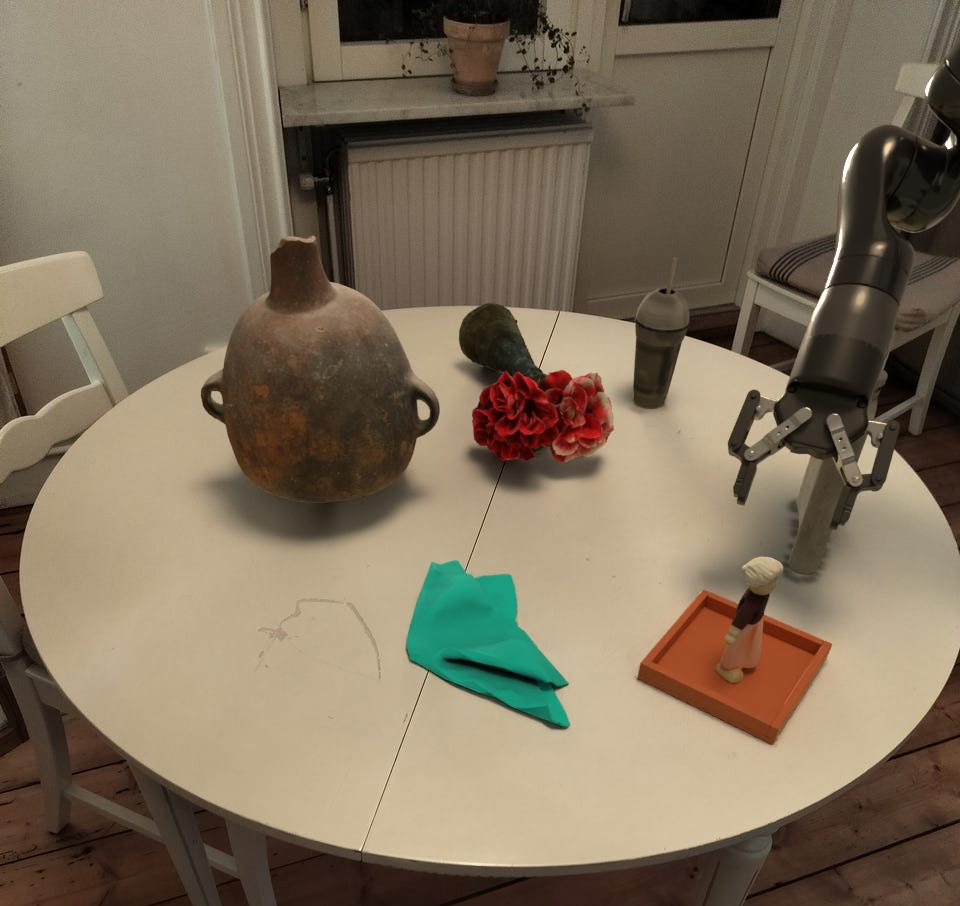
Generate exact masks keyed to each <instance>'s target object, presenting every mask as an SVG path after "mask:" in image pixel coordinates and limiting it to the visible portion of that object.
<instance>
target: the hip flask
mask: <svg viewBox="0 0 960 906" xmlns="http://www.w3.org/2000/svg"><path fill="white" fill-rule="evenodd" d="M888 377H889V375H888V373H887V371H886V370H884V369H883V368H882V369H881V372H880V375H879V378H878V381H877V384H876V387H875V390H874V393H873V396H872V398H871V401H870V404H869V407H868V410H867V416H868V420H869V421H874V420H875V416H876V413H877V408H878V400H879V399H878V398H879V397H878V396H879V395H880V392H881V390H882V387H883V386H885V385H886V382H887V380H888ZM868 436H869V435H868V434H866V433H865V434H864V435H863V436H862V437H860V438H859V439H857V440H856V441H855V442H853V443H852V444H851V446H852V449H853V451H854V454H855V457H856V462H857V464H858V463H859V459H860V458H861V454H862V452H863V449H864V446H865V445H866V442H867V441H866V440H867V438H868ZM809 456H810V455H809ZM843 486H845V485H844V482H843V480H842V477H841V475H840V473H839V472H838V470H837V467H836V465H835V462H834V460H833V457H831V458H825V459H824V460H821V459H817V458H814V457H812V456H810V457H809V460H808V462H807V465H806V469H805V472H804V475H803V477H802V481H801V485H800V488H799V490H798V494H797V497H796V500H795V503H796V507H797V512H798V530H797V534H796V537H795V540H794V543H793V545H792V549H791V551H790V554H789V558H788V560H787V564H788V567H789V568H790V569H791V570H793V571H794V572H796V573H798V574H801V575H802V574H803V575H811V574H814V573H816V572H818V569H819V567H820V566H821V563H822V560H823V558H824V556H825V553H826V550H827V547H828V544H829V542H830V539H831V536H832V533H833V531H834V530H833V529H829V525H830V522H831V519H832V517H833V514H834V511H835V508H836V505H837V502H838V499H839V496H840V493H841V491H842V488H843Z"/></svg>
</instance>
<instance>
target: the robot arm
mask: <svg viewBox="0 0 960 906" xmlns="http://www.w3.org/2000/svg"><path fill="white" fill-rule="evenodd" d="M924 100H925V103H926V105H927V107H928V108H929V110H930V111H931V112H932V114H933V115H934V116H935V118H937V119H938V120H939V121H940V122H941V123H942V124H943V125H944V126H945V127H946V128H947V129H949V131H950V133H949V136H948V138H946V140H945V142H944V143H942V145H938V144H936V142H935V143H934V142H933V141H930V140H929V139H926V138H924V137H922V136H920V135H918V134H915V133H914V132H912V131H910V130H908V129H906V128H903V127H901V126H899V125H895V124H889V123H888V124H881V125H878V126H875V127H874V128H872V129H870V130H868V131H867V132H866V133H865V134H863V135H862V136H861V137H860V138H859V140H857V142H856V143H855V144H854V146H853V147H852V148H851V150H850V152H849V153H848V156H847V158H846V160H845V163H844V165H843V168H842V171H841V175H840V179H839V183H838V184H839V185H838V194H837V212H836V215H837V218H836V230H835V231H836V232H835V244H834V252H833V253H834V255H833V258H832V261H831V263H830V267H829V270H828V273H827V275H826V279H825V282H824V284H823V287H822V290H821V292H820V293H821V294H820V296H819V299H818V301H817V303H816V305H815V307H814V309H813V310H812V313H811V315H810V317H809V320H808V322H807V326H806V328H805V331H804V334H803V336H802V340H801V343H800V346H799V349H798V352H797V355H796V358H795V361H794V363H793V366H792V369H791V371H790V376H789V378H788V381H787V383H786V386H785V389H784V391H783V394H782V395H781V396H780V397H779V398H778V399H774V398H771V397H767V396H764V395H761V392H760V390H758V389H751V390H749V391H748V392H747V393H746V397H745V399H744V402H743V404H742V406H741V409H740V411H739V414H738V417H737V418H736V421H735V423H734V425H733V428H732V430H731V433H730V436H729V437H728V440H727V452H728V455H729V456H731V457H734V458H736V459H738V461H739V462H740V463H741V464H740V466H739V470H738V472H737V475H736V479H735V482H734V485H733V487H732V489H733V490H732V491H733V497H734V498H736V504H737V505H738V506H743V507H744V506H745V505H746V502H747V500H748V496H749V494H750V492H751V488H752V485H753V483H754V480H755V476H756V473H757V471H758V465H759V464H761V463H762V462H763V461H765V460H766V459H767V458H769V457H772V456H773V455H775V454H776V453H778V452H780V451H781V450H782V449H784V448H786V449H787V450H789V451H790V453H792V454H795V455H808V456H812V457H814V458H817V459H821V460H824V459H825V458H831V457H833V460H834V462H835V465H836V467H837V470H838V472H839V473H840V475H841V477H842V480H843V482H844V485H845V486H843V488H842V491H841V493H840V496H839V499H838V502H837V505H836V508H835V511H834V514H833V517H832V519H831V522H830V525H829V529H833V531H837V530H838V527H839V526H842V527H843V526H845V525H846V524H847V523H848V522H849V520H850V518H851V514H852V511H853V509H854V506H855V503H856V500H857V497H858V495H859V494H860V493H861V492H868V491H871V492H879V491H880V490H881V489H882V488H883V486H884V484H885V482H886V481H887V479H888V475H889V470H890V466H891V463H892V459H893V456H894V453H895V448H896V446H897V442H898V441H897V440H898V437H899V434H900V430H901V424H900V422H899V421H897V420H894V419H892V420H889V421H888V422H881V421H874V420H873V421H869V420H868V416H867V410H868V407H869V404H870V401H871V398H872V396H873V393H874V390H875V387H876V384H877V381H878V378H879V375H880V372H881V369H883V367H884V364H885V361H886V358H887V357H888V354H889V351H890V350H889V349H890V346H891V343H892V341H893V337H894V334H895V329H896V324H897V320H898V319H897V318H898V314H899V310H900V308H901V306H902V302H903V299H904V296H905V294H906V290H907V288H908V286H909V282H910V279H911V275H912V273H913V269H914V266H915V262H916V261H915V260H916V254H915V249H914V247H913V246H912V244H911V243H910V241H908V239H907V238H906V237H905V236H903V235H902V234H901V233H900V232H899V231H898V230H897V229H899V230H902V231H904V232H907V233H912V234H917V233H921V232H925V231H927V230H929V229H931V228H933V227H935V226H937V225H938V224H939V223H940V222H942V221H943V220H944V219H945V218H947V216H948V215H949V214H950V213H951V212H952V210H953V209H954V207H955V206H956V204H957V202H958V201H959V200H960V36H959V37H958V39H956V41H955V42H954V44H953V45H952V47H951V48H950V49H949V51H948V52H947V53H946V55H945V56H944V57H943V59H942V60H941V62H940V63H939V64H938V66H937V67H936V68H935V70H934V71H933V73H932V75H931V76H930V78H929V79H928V81H927V84H926V86H925V89H924ZM895 228H897V229H895ZM768 413H772V415H773V418H774V421H775V424H776V427H774V428H773V429H771V430H770V431H769V432H767V433H766V434H765V435H764V436H763V437H762V438H761V439H760V440H759V441H756V442H755V443H754V444H752V445H751V446H749V445H747V443H746V442H747V441H746V440H747V438H748V436H749V433H750V431H751V429H752V426H753V424H754V421H760V420H763V418H764V417H765V415H766V414H768ZM865 433H866V434H868V436H869V437H870V445H871V446H872V447H873V448H877V450H876V454H875V458H874V461H873V465H872V469H871V472H870V473H862V472H861V470H860V468H859V465H858V463H857V462H856V457H855V454H854V451H853V449H852V446H851V444H852V443H853V442H855V441H856V440H857V439H859V438H860V437H862V436H863V435H864V434H865Z"/></svg>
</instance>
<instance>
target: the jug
mask: <svg viewBox="0 0 960 906" xmlns="http://www.w3.org/2000/svg"><path fill="white" fill-rule="evenodd" d="M269 261H270V265H269V266H270V289H269V291H267V292H266V293H264V294H262V295H261V296H259V297H258V298H256V299H255V300H254V301H253V302H252V303H251V304H249V305H248V307H246V309H244V311H243V312H242V314H241V315H240V316H239V318H238V319H237V321H236V324H235V326H234V328H233V330H232V332H231V334H230V337H229V340H228V343H227V346H226V351H225V355H224V359H223V367H222V368H221V369H220V370H218V371H217V372H215V373H213V374H211V375H210V376H209V377H208V378H207V379H206V380H205V382H204V383H203V385H202V387H201V389H200V399H201V403H202V407H203V409H204V411H205V412H206V413H207V414H208V415H209V416H210V417H212V418H213V419H215V420H217V421H219V422H221V423H222V424H224V426H225V429H226V433H227V437H228V441H229V443H230V446H231V450H232V451H233V455H234V457H235V460H236V463H237V464H238V466H239V468H240V470H241V472H242V473H243V474H244V476H245V477H246V478H247V479H248V481H250V482H251V483H252V484H253V485H254V486H256V487H257V488H258V489H260V490H262V491H264V492H265V493H268V494H270V495H273V496H275V497H278V498H282V499H285V500H289V501H293V502H298V503H299V502H300V503H307V504H308V503H309V504H324V503H325V504H326V503H327V504H328V503H336V502H337V503H338V502H345V501H350V500H355V499H360V498H365V497H367V496H370V495H373V494H377V493H378V492H380V491H382V490H384V489H386V488H387V487H389V486H391V484H394V483H395V482H396V481H397V480H398V479H399V478H400V477H401V476H402V474H404V472H405V471H406V470H407V468H408V466H409V465H410V462H411V460H412V458H413V455H414V452H415V448H416V445H417V439H419V438H420V437H423V436H425V435H426V434H428V433H429V432H430V431H432V430H433V429H434V428H435V426H436V425H437V423H438V421H439V417H440V412H441V407H440V402H439V399H438V397H437V394H436V392H435V391H434V390H433V389H432V388H431V386H429V385H428V383H426V382H425V381H424V380H422V379H421V378H420V377H419V376H417V374H416V373H415V372H414V370H413V368H412V366H411V363H410V361H409V358H408V356H407V354H406V351H405V349H404V347H403V345H402V342H401V340H400V338H399V337H398V334H397V332H396V330H395V328H394V326H393V325H392V324H391V322H390V320H389V319H388V317H387V316H386V315H385V313H384V312H383V311H382V310H381V309H380V308H379V306H377V304H375V302H374V301H372V300H371V299H370V298H368V297H367V296H366V295H364V294H363V293H361V292H359V291H357V290H355V288H354V289H353V288H351V287H348V286H346V285H343V284H341V283H337V282H332V281H330V280H329V279H328V276H327V275H326V272H325V270H324V267H323V264H322V260H321V256H320V252H319V246H318V240H317V237H316V236H315V235H311V236H308V237H307V238H302V237H298V236H292V235H289V236H284V237H282V238H281V239H280V241H279V243H278V245H277V247H276V248H275V249H274V251H272V252H271V253H270V254H269ZM212 392H219V394H220V395H221V400H222V403H219V402H217V401H216V400H214V399H213V397H212ZM418 401H421V402H423V403H424V404H425V405H426V406H427V408H428V409H429V417H428V418H425V419H421V418H420V416H419V408H418V407H419V406H418Z"/></svg>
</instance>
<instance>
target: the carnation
mask: <svg viewBox="0 0 960 906" xmlns="http://www.w3.org/2000/svg"><path fill="white" fill-rule="evenodd" d="M458 344H459V348H460V350H461V353H462V354H463V355H464V356H465V357H466V358H467V359H468V360H470V362H472V363H474V364H476V365H480V366H483V367H486V368H489V369H491V370H494V371H497V372H502V374H501V375H500V376H499V377H498V379H497V380H496V382H494V383H490V384H489V385H486V386H485V387H484V388H483V389H482V391H481V392H480V395H479V397H478V403H477V406H476V407H474V408H473V409H472V411H471V412H472V413H471V416H472V420H471V422H472V428H473V429H472V431H473V441H475V443H476V444H477V445H478V446H479V447H487V449H488V450H489V451H491V452H492V453H493V454H495V455H496V457H497V458H498V459H499V460H500V461H502V462H509V461H510V460H514V459H517V460H522V461H524V462H528V461H530V460H534V459H538V457H537V456H536V453H538V452H540V451H541V450H542V449H543V448H549V449H550V453H551V455H552V457H553V458H554V459H555V461H557V462H560V463H563V464H564V463H568V462H570V461H572V460H574V459H576V458H578V457H579V458H580V457H582V456H584V457H590V456H593V455H594V454H595V453H596V452H597V451H598V450H600V449H601V448H603V447H604V446H605V444H606V443H607V442H608V439H609V436H610V435H611V433H613V432H614V430H615V426H614V419H615V418H614V413H613V405H612V401H611V399H610V397H609V396H608V395H607V394H606V393H605V388H604V384H603V381H602V377H601V375H599V373H598V372H595V373H594V372H589V373H587V374H585V375H580V376H575V377H572V376H571V374H570V373H569V372H567V370H564V369H560V370H557V371H552V372H551V371H550V372H549V373H548V374H547V373H545V372H544V371H543V370H542V369H541V368H540V367H538V366H537V365H536V364H535V361H534V360H533V358H532V355H531V353H530V350H529V348H528V346H527V344H526V341H525V338H524V337H523V335H522V332H521V330H520V328H519V325H518V319H516V318H515V317H514V315H513V313H512V312H511V310H510V309H508V308H507V307H506V306H505V305H503V304H499V303H494V302H485V303H483V304H481V305H479V306H477V307H476V308H474V309H472V310H471V311H469V312H468V313H467V315H465V316H464V318H463V319H462V321H461V323H460V327H459V330H458Z"/></svg>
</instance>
